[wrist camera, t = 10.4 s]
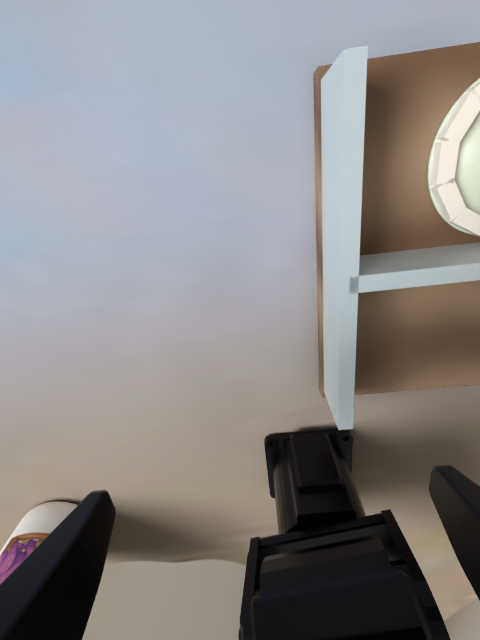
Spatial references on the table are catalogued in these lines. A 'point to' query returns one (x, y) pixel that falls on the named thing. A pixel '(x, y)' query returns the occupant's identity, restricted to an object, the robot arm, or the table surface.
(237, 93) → the table surface
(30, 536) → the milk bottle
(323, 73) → the board
